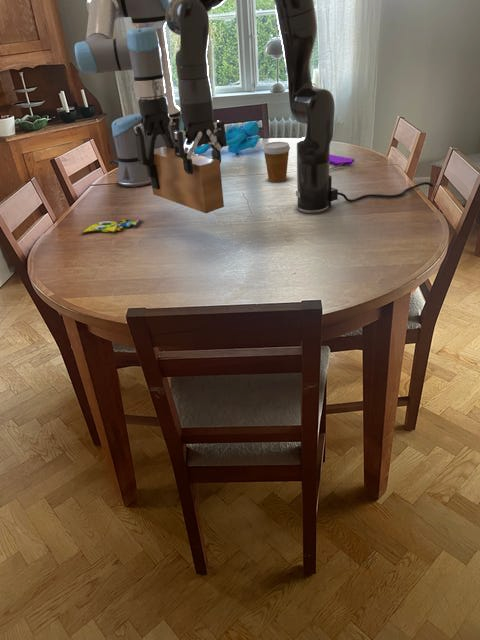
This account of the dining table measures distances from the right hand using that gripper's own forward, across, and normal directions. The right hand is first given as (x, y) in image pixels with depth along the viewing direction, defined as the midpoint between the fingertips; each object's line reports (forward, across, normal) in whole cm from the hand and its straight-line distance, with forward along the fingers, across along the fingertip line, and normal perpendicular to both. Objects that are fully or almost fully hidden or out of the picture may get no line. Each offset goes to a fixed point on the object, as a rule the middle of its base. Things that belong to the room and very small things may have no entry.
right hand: (203, 169), depth 120 cm
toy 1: (+19, -13, +32) cm, 40 cm away
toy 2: (+19, +63, +70) cm, 96 cm away
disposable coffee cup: (+19, +49, +24) cm, 58 cm away
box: (+10, 0, +10) cm, 14 cm away
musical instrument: (+19, +74, +24) cm, 80 cm away
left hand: (+7, 0, +19) cm, 21 cm away
